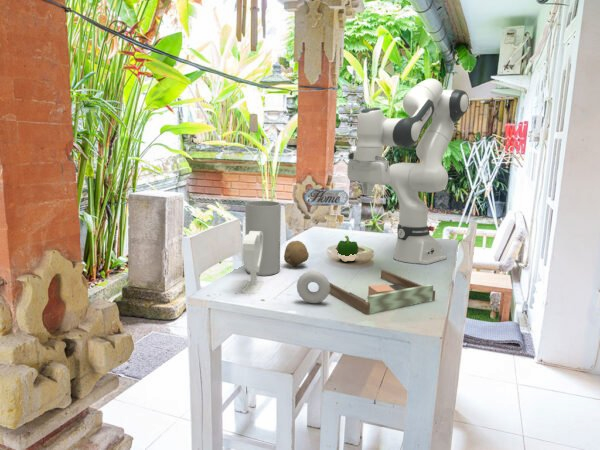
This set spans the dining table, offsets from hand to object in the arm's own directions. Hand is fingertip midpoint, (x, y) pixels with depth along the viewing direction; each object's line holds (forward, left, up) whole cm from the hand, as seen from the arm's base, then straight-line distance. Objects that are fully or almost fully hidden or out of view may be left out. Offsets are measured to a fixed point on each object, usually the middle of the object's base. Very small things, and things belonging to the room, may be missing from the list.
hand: (367, 195), depth 163 cm
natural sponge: (+18, -18, -29) cm, 39 cm away
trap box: (+10, +20, -29) cm, 36 cm away
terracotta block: (+12, +25, -29) cm, 40 cm away
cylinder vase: (+32, -18, -29) cm, 47 cm away
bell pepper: (-4, -16, -29) cm, 33 cm away
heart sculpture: (+42, -3, -29) cm, 51 cm away
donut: (+32, +18, -29) cm, 47 cm away
